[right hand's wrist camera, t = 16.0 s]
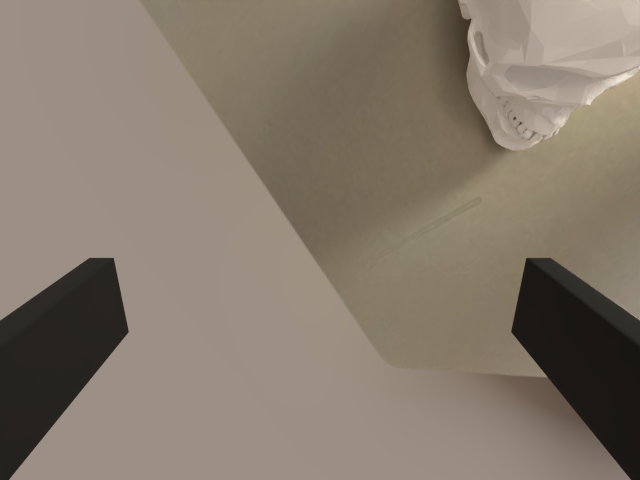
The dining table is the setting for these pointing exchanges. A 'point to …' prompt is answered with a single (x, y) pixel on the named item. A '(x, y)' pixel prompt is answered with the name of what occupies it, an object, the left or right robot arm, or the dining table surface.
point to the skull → (546, 60)
